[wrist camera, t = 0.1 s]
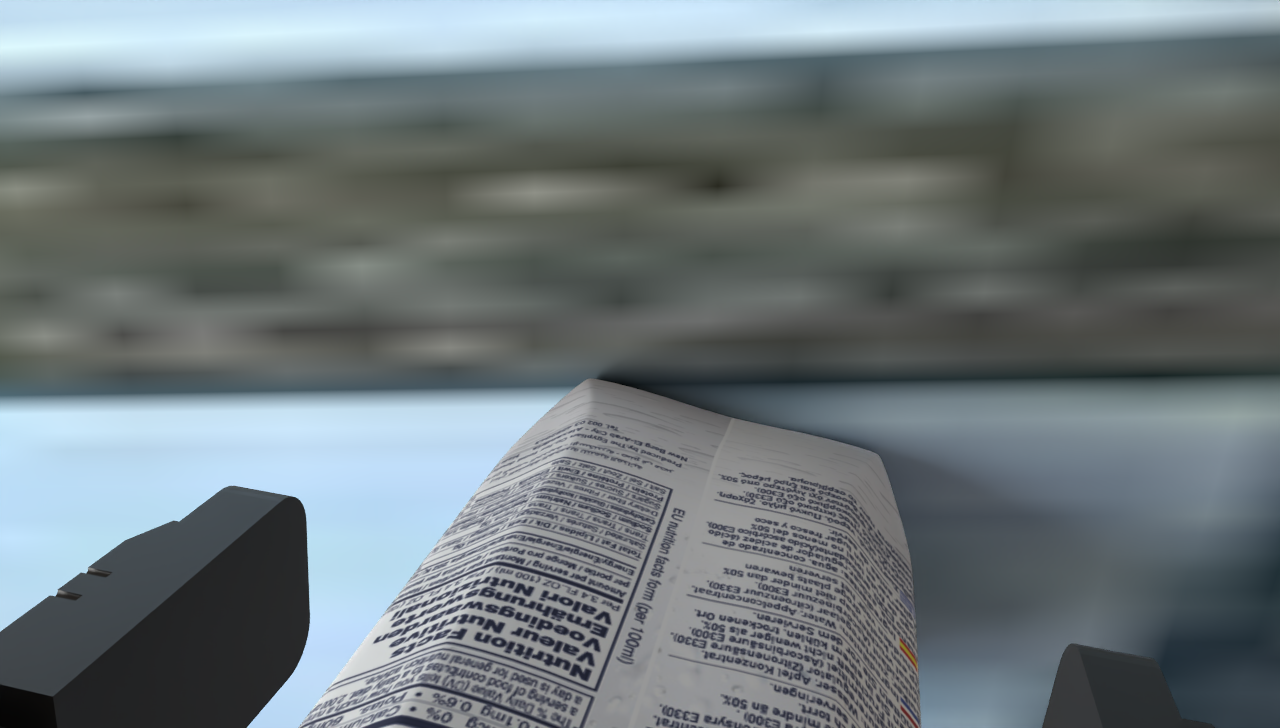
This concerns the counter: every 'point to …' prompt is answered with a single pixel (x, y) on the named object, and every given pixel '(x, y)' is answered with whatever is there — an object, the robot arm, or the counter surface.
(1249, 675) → the counter surface
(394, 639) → the juice carton
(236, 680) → the robot arm
